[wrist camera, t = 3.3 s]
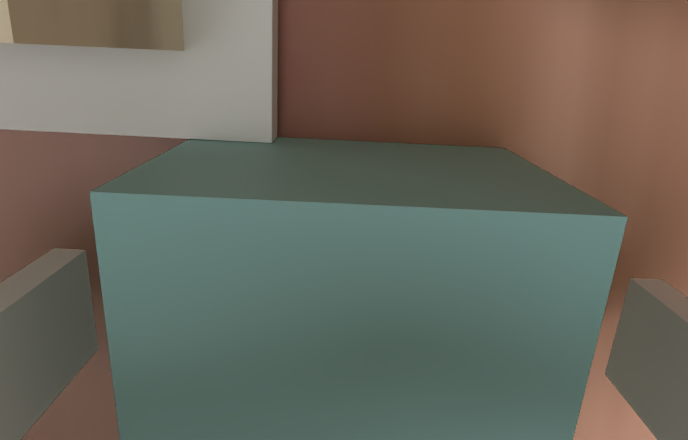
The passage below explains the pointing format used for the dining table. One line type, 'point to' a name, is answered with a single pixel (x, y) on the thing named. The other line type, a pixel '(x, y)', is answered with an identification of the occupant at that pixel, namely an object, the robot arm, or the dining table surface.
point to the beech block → (94, 23)
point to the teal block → (350, 292)
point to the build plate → (154, 81)
